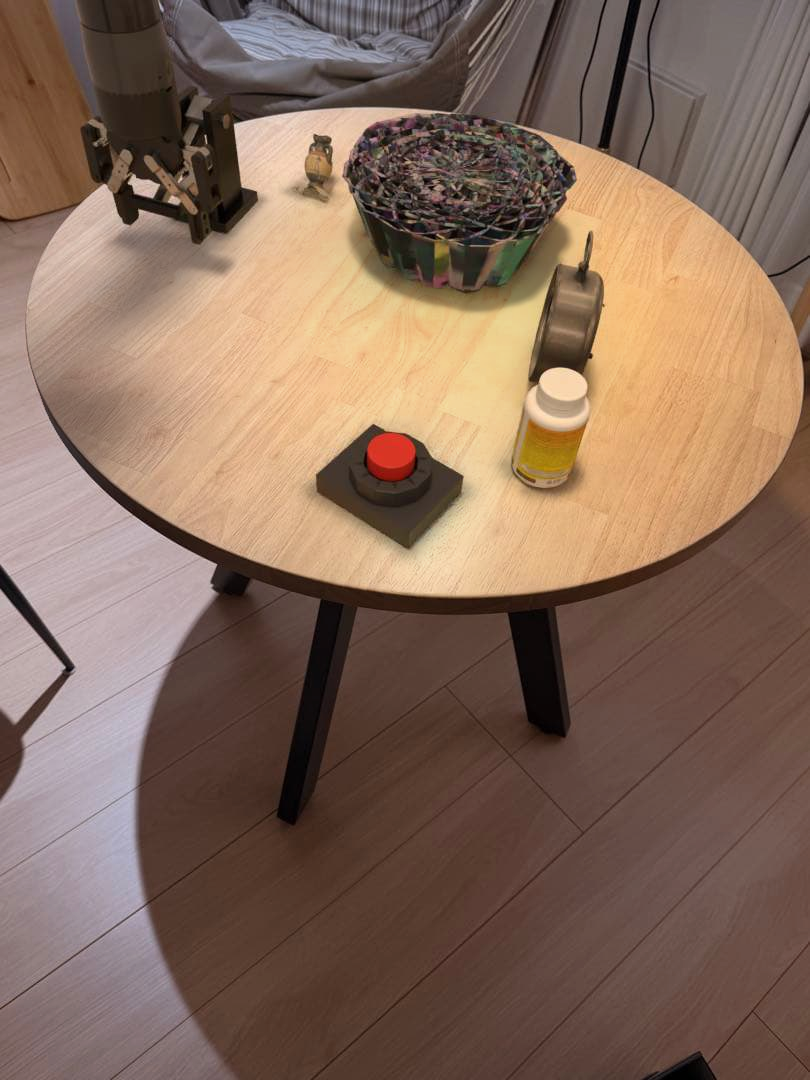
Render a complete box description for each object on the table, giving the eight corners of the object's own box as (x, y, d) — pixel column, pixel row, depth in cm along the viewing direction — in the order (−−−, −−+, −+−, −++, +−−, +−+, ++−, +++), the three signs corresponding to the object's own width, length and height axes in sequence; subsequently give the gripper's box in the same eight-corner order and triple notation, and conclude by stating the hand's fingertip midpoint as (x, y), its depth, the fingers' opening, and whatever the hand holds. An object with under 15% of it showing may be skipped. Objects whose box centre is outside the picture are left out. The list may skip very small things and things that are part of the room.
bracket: (226, 234, 92) (210, 121, 81) (173, 219, 93) (150, 107, 83) (258, 200, 96) (246, 89, 86) (207, 187, 97) (189, 76, 87)
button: (423, 461, 67) (425, 447, 66) (395, 489, 65) (396, 475, 64) (386, 439, 68) (387, 425, 67) (357, 466, 66) (357, 452, 65)
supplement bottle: (579, 486, 71) (608, 402, 63) (520, 495, 70) (542, 411, 62) (559, 442, 74) (584, 357, 66) (502, 449, 73) (520, 364, 65)
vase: (312, 172, 101) (310, 124, 96) (349, 183, 99) (349, 136, 95) (290, 191, 98) (286, 143, 93) (328, 203, 96) (326, 155, 92)
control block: (461, 492, 70) (466, 461, 67) (407, 548, 66) (410, 519, 63) (372, 440, 73) (373, 408, 70) (316, 491, 69) (314, 460, 66)
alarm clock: (532, 342, 83) (566, 195, 70) (584, 351, 82) (627, 205, 69) (520, 413, 76) (554, 266, 63) (576, 423, 76) (622, 277, 63)
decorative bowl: (563, 208, 102) (581, 128, 94) (553, 327, 84) (575, 239, 76) (369, 180, 103) (372, 99, 96) (318, 291, 85) (316, 202, 78)
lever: (181, 226, 84) (173, 211, 81) (136, 213, 85) (126, 198, 82) (233, 119, 87) (226, 102, 84) (189, 108, 88) (181, 91, 85)
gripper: (41, 72, 72) (89, 232, 85) (178, 105, 70) (206, 265, 83) (89, 41, 77) (128, 198, 90) (220, 71, 74) (240, 229, 87)
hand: (166, 230), depth 86 cm, fingers open, 8 cm apart
